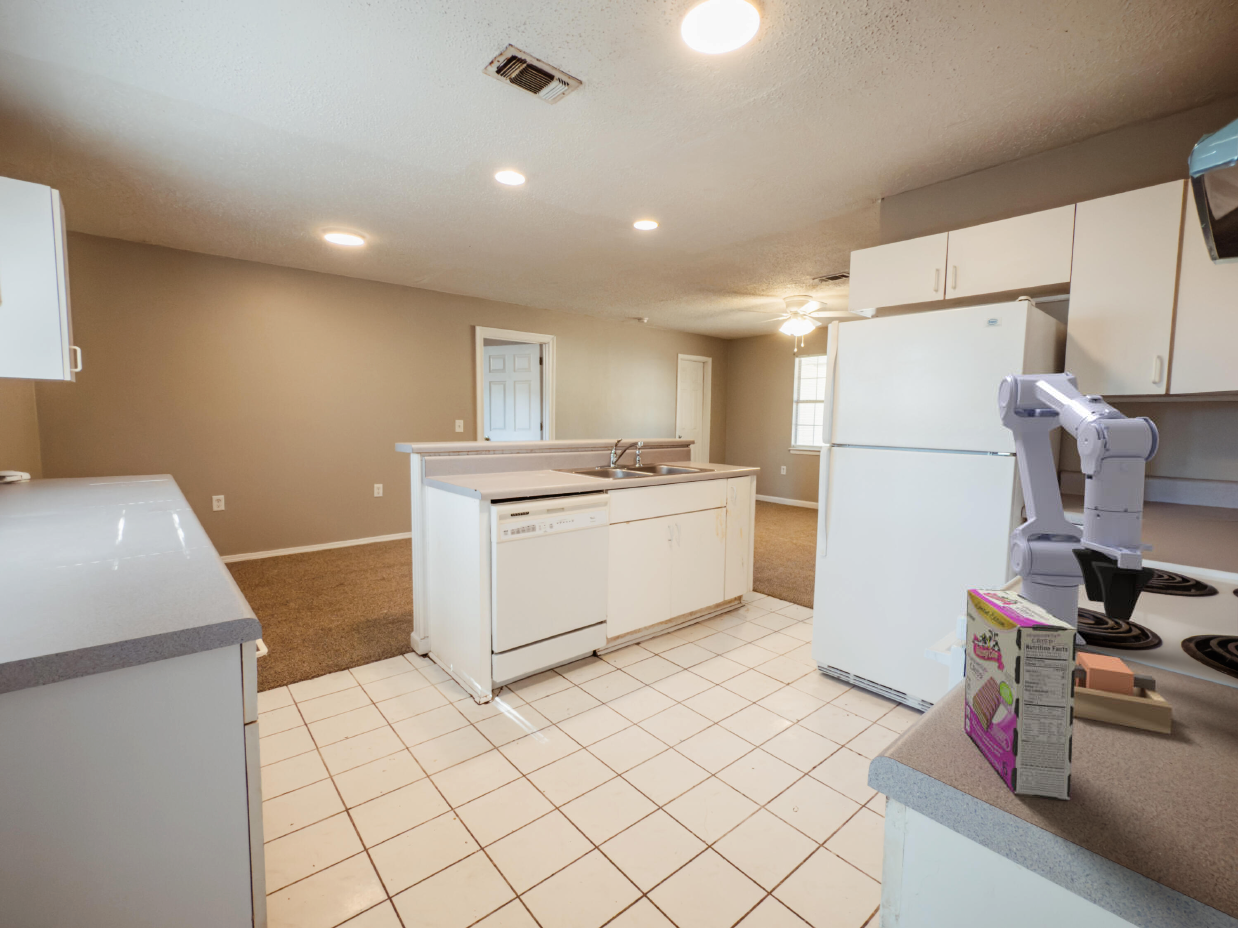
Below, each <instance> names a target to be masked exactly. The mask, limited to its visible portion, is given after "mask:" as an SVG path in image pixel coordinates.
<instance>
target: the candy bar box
mask: <svg viewBox="0 0 1238 928" xmlns="http://www.w3.org/2000/svg"><path fill="white" fill-rule="evenodd" d="M966 595H967V596H966V636H965V637H966V642H965V687H964V688H965V691H964V692H965V695H964V727H963V729H964V731H965V732H966V733H967V735H968V736H969V738H970V739H971V740H972V741H973V742H974V744H975V745H976V746H977V747H978V749H979V751H981V752H982V754H983V755H984V756H985V758H986V759H987V760H988V762H989V763H990V764H991V765H992V767H993V769H994V770H995V771H996V772H997V773H998V774H999V776H1000V777H1001V778H1002V780H1003V781H1004V783H1005V784H1006V785H1007V786H1008V788H1009V789H1010V790H1011V792H1012V793H1013V794H1015V795H1018V796H1024V797H1031V798H1032V797H1033V798H1034V797H1035V798H1044V799H1054V800H1061V801H1062V800H1063V801H1070V800H1071V783H1072V781H1071V780H1072V760H1073V759H1072V756H1073V730H1074V729H1073V728H1074V716H1073V712H1074V686H1075V662H1076V654H1077V653H1076V649H1077V644H1076V633H1077V632H1078V628H1077V629H1076V628H1074V627H1073V626H1071V625H1069V624H1067V623H1066V622H1064V621H1062V620H1061V619H1059V618H1057V617H1056V616H1054V615H1052V614H1051V613H1049V612H1047V611H1046V610H1044V609H1042V608H1041V607H1039V606H1037V605H1036V604H1034V603H1033V602H1031V601H1029V600H1028V599H1026V598H1024V597H1023V596H1021V595H1020V593H1018V592H1016V591H1013V590H1003V589H1002V590H1001V589H1000V590H999V589H983V588H982V589H980V588H973V589H972V588H971V589H967V591H966Z"/></svg>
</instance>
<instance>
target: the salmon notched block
mask: <svg viewBox="0 0 1238 928" xmlns="http://www.w3.org/2000/svg"><path fill="white" fill-rule="evenodd" d="M1076 662H1077V665H1081V666H1082V667H1083V668H1084V669H1085V671H1086V672H1087V677H1086V679H1081V678H1076V687H1082V688H1088V689H1094V690H1100V691H1106V692H1111V693H1117V694H1123V695H1129V696H1133V687H1134V674H1133V672H1132V671H1131V670H1132V669H1130V668H1129V667H1128V666H1127V665H1126V664H1125V663H1124V662H1123V660H1122V659H1121V658H1120V657H1115V656H1109V655H1108V656H1107V655H1103V654H1096V653H1095V654H1094V653H1087V652H1080V651H1077V653H1076Z"/></svg>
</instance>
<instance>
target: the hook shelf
mask: <svg viewBox="0 0 1238 928" xmlns="http://www.w3.org/2000/svg"><path fill="white" fill-rule="evenodd" d="M1130 670H1131V671H1132V672H1133V674H1134V687H1133V696H1129V695H1123V694H1117V693H1111V692H1106V691H1100V690H1094V689H1088V688H1082V687H1076V678H1081V679H1086V677H1087V672H1086V671H1085V669H1084V668H1083V667H1082V666H1081V665H1077V661H1075V686H1074V712H1073V717H1078V718H1081V719H1082V718H1083V719H1089V720H1093V721H1094V720H1095V721H1099V722H1103V723H1104V722H1105V723H1108V724H1109V723H1110V724H1116V725H1121V726H1124V727H1131V728H1137V729H1143V730H1147V731H1148V730H1149V731H1151V732H1157V733H1163V734H1168V735H1171V732H1172V730H1171V729H1172V728H1171V727H1172V713H1173V711H1172V710H1173V708H1172V706H1171V705H1170V704H1169V703H1168V702H1167V701H1166V700H1165V699H1164V697H1162V696H1161V695H1160V693H1158V692H1157V691H1156V682H1157V681H1156V679H1155V678H1154V677H1153V676H1152V675H1147V674H1141V673H1139V671H1137V670H1132V669H1130Z"/></svg>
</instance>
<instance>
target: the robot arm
mask: <svg viewBox="0 0 1238 928" xmlns="http://www.w3.org/2000/svg"><path fill="white" fill-rule="evenodd" d="M997 405H998V411H999V416H1000V419H1001V425H1002V427H1005V428H1007V429H1008V430H1010V431H1012V436H1013V440H1014V442H1013V443H1014V445H1015V446H1014V447H1015V452H1016V458H1017V463H1018V464H1017V465H1018V470H1019V471H1018V472H1019V477H1020V483H1021V489H1022V495H1023V501H1024V506H1025V513H1026V519H1027V521H1026V522H1024V523H1023V524H1021V525H1019V526H1017V527H1016V528H1015V529H1014V530H1013V531H1012V532H1011V535H1010V537H1009V539H1010V541H1009V542H1010V549H1009V561H1010V566H1011V568H1012V570H1013V571H1014V573H1016V575H1018V576H1019V577H1021V578H1022V579H1021V584H1020V587H1019V589H1020V590H1019V595H1021V596H1023V597H1024V598H1026V599H1028V600H1029V601H1031V602H1033V603H1034V604H1036V605H1037V606H1039V607H1041V608H1042V609H1044V610H1046V611H1047V612H1049V613H1051V614H1052V615H1054V616H1056V617H1057V618H1059V619H1061V620H1062V621H1064V622H1066V623H1067V624H1069V625H1071V626H1073V627H1074V628H1076V629H1077V630H1078V617H1079V616H1078V615H1079V614H1078V611H1079V593H1080V586H1084V589H1085V593H1086V597H1087V600H1088V601H1089V602H1096V603H1103V607H1104V613H1105V616H1106V617H1107V619H1110V620H1111V619H1112V620H1118V621H1130V620H1131V617H1132V615H1133V613H1134V610H1135V608H1136V605H1137V602H1138V600H1139V599H1140V598H1139V597H1140V595H1141V593H1142V592H1143V590H1144V589H1145V588H1146V586H1147V585H1148V584H1149V582H1150V581H1151V580H1153V578H1155V577H1154V576H1155V574H1156V571H1155V570H1154V569H1151V568H1148V567H1147V568H1146V567H1143V554H1142V552H1144V551H1145V552H1153V551H1154V545H1152V544H1151V543H1148V542H1147V543H1145V542H1142V529H1143V528H1142V527H1143V510H1144V494H1145V493H1144V491H1145V473H1146V463H1147V462H1149V461H1151V460H1152V459H1153V458H1154V457H1155V456H1156V454H1157V451H1158V449H1159V443H1160V436H1159V430H1158V428H1157V426H1156V424H1155V422H1153V421H1152V420H1151V418H1149V417H1148V416H1137V417H1135V418H1134V417H1131V418H1130V417H1128V416H1126V415H1125V414H1123V413H1122V412H1120V410H1118V409H1117V408H1114V407H1113V406H1112V405H1110V404H1108V403H1107V402H1106V401H1104V397H1103V396H1101V395H1100V394H1087V395H1083V394H1082V393H1081V392H1080V391H1079V384H1078V379H1077V376H1075V375H1074V374H1073V373H1071V372H1066V371H1065V372H1062V373H1039V374H1037V373H1033V374H1006V375H1005V376H1004V377H1003V378H1002V380H1001V381H1000V383H999V386H998V393H997ZM1060 426H1061V427H1063V428H1064V429H1065V430H1066V431H1067V432H1068V433H1069V434H1070V435H1071V436H1073V438H1075V439H1076V440H1077V441H1076V444H1077V451H1078V454H1079V457H1080V470H1081V473H1082V474H1085V483H1084V484H1085V485H1084V501H1083V502H1084V503H1083V505H1084V506H1083V524H1082V525H1083V528H1080V527H1079V526H1077V525H1075V524H1074V523H1072V522H1070V521H1069V520H1067V519H1066V518H1065V513H1064V512H1065V511H1064V507H1063V502H1062V497H1061V491H1060V486H1059V482H1058V476H1057V470H1056V466H1055V460H1054V455H1053V450H1052V445H1051V440H1050V439H1051V438H1050V431H1052V430H1054V429H1056V428H1058V427H1060ZM1076 645H1080V646H1085V645H1087V642H1086V641H1085V639H1084V638H1083V637H1082V636H1081V635H1080V634H1079V633H1078V631H1077V633H1076Z"/></svg>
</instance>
